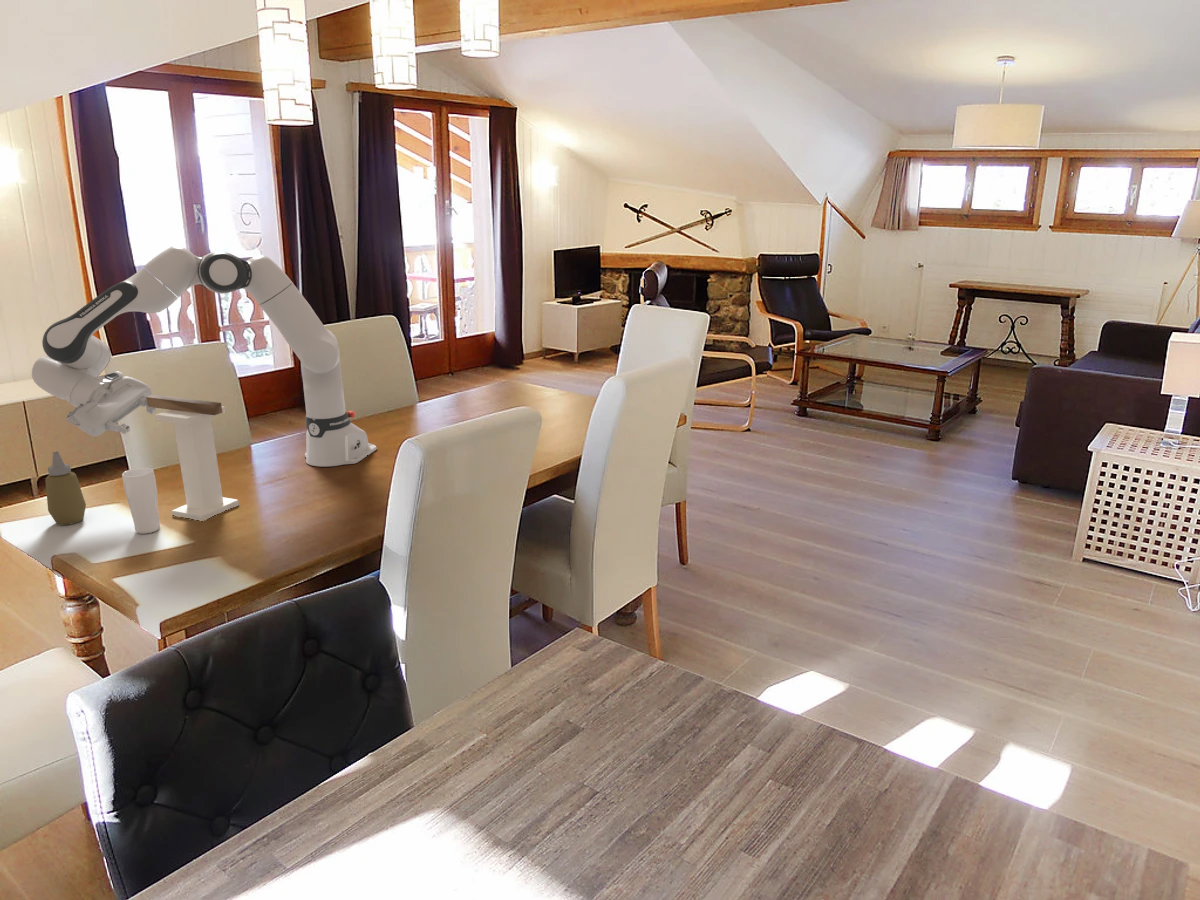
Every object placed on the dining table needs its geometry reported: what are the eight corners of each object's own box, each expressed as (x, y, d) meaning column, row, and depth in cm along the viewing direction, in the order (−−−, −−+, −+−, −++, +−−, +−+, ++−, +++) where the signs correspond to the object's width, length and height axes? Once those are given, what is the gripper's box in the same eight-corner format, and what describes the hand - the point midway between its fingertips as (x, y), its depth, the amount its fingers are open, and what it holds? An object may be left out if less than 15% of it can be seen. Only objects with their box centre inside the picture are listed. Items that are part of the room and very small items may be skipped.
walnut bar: (155, 404, 217) (154, 394, 217) (222, 412, 209) (221, 402, 209) (147, 406, 215) (145, 396, 214) (214, 415, 207) (213, 405, 206)
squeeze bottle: (49, 529, 208) (34, 459, 203) (52, 518, 215) (37, 450, 209) (88, 523, 212) (74, 454, 206) (89, 512, 218) (75, 445, 213)
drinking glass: (169, 525, 210) (159, 467, 206) (153, 536, 204) (142, 477, 199) (143, 524, 211) (133, 466, 207) (126, 535, 205) (115, 476, 200)
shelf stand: (209, 499, 227) (194, 402, 219) (238, 505, 223) (224, 406, 215) (172, 516, 216) (155, 414, 208) (202, 521, 213) (186, 418, 204)
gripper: (60, 408, 209) (110, 434, 209) (122, 367, 225) (168, 391, 224) (62, 427, 213) (111, 452, 213) (123, 385, 229) (168, 408, 228)
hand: (141, 420), depth 219 cm, fingers open, 8 cm apart
